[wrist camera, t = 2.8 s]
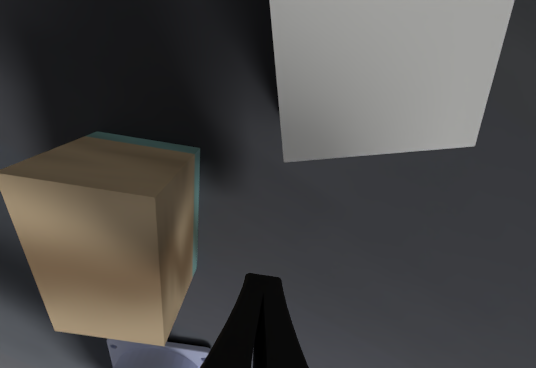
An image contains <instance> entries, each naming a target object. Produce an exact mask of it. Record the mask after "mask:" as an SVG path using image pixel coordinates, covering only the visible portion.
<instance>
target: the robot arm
mask: <svg viewBox="0 0 536 368" xmlns="http://www.w3.org/2000/svg"><path fill="white" fill-rule="evenodd" d="M107 345H108V349H109V353H110V358H111V362H112V366H113V368H251V361H252V354H253V368H309V367H308V365H307V363H306V360H305V357H304V355H303V352H302V350H301V347H300V344H299V342H298V339H297V336H296V333H295V330H294V327H293V324H292V321H291V318H290V315H289V311H288V308H287V304H286V300H285V296H284V292H283V287H282V281H281V279H280V278H279V277H273V276H266V275H259V274H253V273H248V274H246V276H245V280H244V284H243V287H242V289H241V292H240V295H239V297H238V299H237V301H236V304H235V306H234V308H233V310H232V312H231V314H230V316H229V318H228V320H227V322H226V324H225V326H224V328H223V329H222V331H221V333H220V335H219V336H218V338H217V340H216V342H215V343H214V345H213V347H212V349H210V348H208V347H202V346H195V345H188V344H181V343H174V342H166V344H165V346H158V345H151V344H144V343H136V342H129V341H122V340H115V339H107ZM253 347H254V350H253Z"/></svg>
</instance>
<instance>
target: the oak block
mask: <svg viewBox="0 0 536 368" xmlns="http://www.w3.org/2000/svg"><path fill="white" fill-rule="evenodd" d="M199 174H200V148H197V147H191V146H185V145H179V144H173V143H166V142H160V141H154V140H148V139H142V138H135V137H129V136H123V135H117V134H111V133H104V132H98V131H97V132H94V133H92V134H89V135H87V136H84V137H82V138H79V139H77V140H74V141H72V142H69V143H67V144H64V145H61V146H59V147H56V148H54V149H51V150H49V151H46V152H44V153H41V154H39V155H36V156H34V157H31V158H29V159H26V160H24V161H21V162H19V163H16V164H14V165H11V166H9V167H6V168H4V169H1V170H0V191H1V193H2V196H3V198H4V201H5V203H6V206H7V209H8V211H9V214H10V216H11V219H12V222H13V224H14V227H15V229H16V232H17V235H18V237H19V240H20V242H21V245H22V248H23V250H24V253H25V255H26V258H27V260H28V263H29V266H30V268H31V271H32V273H33V276H34V279H35V281H36V284H37V286H38V289H39V292H40V294H41V297H42V299H43V302H44V304H45V307H46V310H47V312H48V315H49V317H50V320H51V323H52V325H53V328H54V330H55V331H59V332H66V333H73V334H80V335H87V336H94V337H101V338H108V339H115V340H122V341H129V342H136V343H144V344H151V345H158V346H165V344H166V342H167V339H168V337H169V334H170V332H171V329H172V327H173V324H174V322H175V319H176V317H177V315H178V312H179V310H180V307H181V305H182V302H183V300H184V297H185V295H186V292H187V290H188V287H189V285H190V283H191V280H192V278H193V275H194V273H195V270H196V268H197V243H198V208H199Z"/></svg>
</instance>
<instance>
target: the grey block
mask: <svg viewBox="0 0 536 368" xmlns="http://www.w3.org/2000/svg"><path fill="white" fill-rule="evenodd" d="M269 1H270V12H271V23H272V35H273V46H274V57H275V68H276V79H277V90H278V102H279V113H280V124H281V135H282V146H283V157H284V162H294V161H306V160H317V159H329V158H341V157H353V156H365V155H377V154H388V153H400V152H412V151H424V150H436V149H448V148H459V147H471V146H475V143H476V140H477V136H478V132H479V129H480V125H481V121H482V118H483V114H484V110H485V107H486V103H487V99H488V95H489V92H490V88H491V84H492V81H493V77H494V73H495V70H496V66H497V62H498V59H499V55H500V51H501V48H502V44H503V40H504V37H505V33H506V29H507V26H508V22H509V18H510V15H511V11H512V7H513V4H514V0H269Z"/></svg>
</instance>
